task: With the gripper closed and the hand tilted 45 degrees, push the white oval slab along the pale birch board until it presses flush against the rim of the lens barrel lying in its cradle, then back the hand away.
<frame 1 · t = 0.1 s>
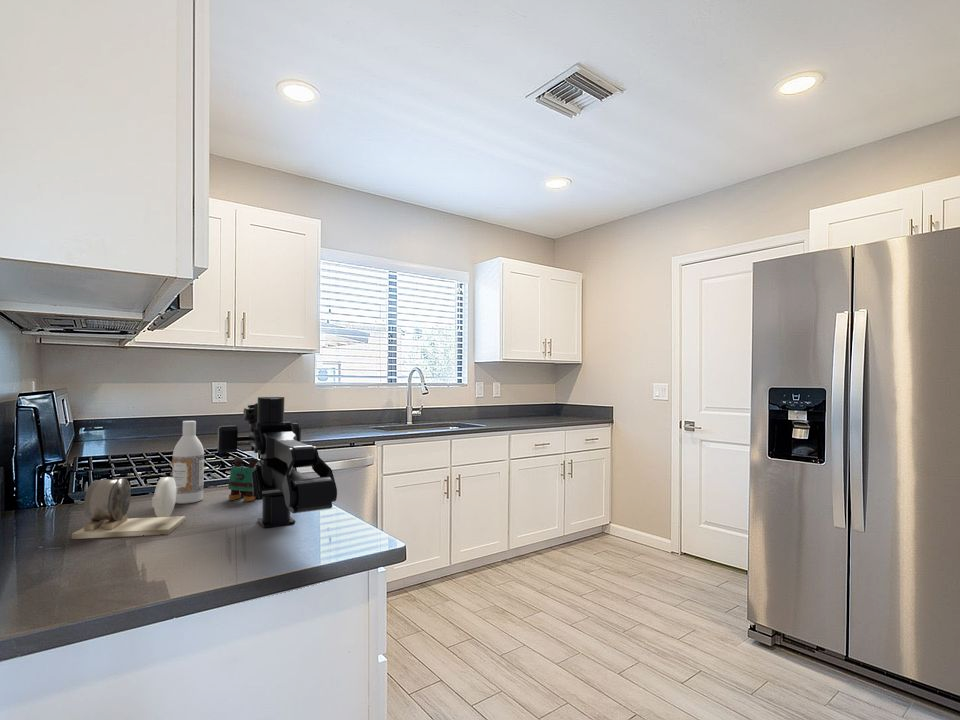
hand: (253, 434, 136), 17 cm above the worktop, tool horizontal, fingers open, 9 cm apart
bath foam: (187, 501, 134), on the worktop
lens barrel: (108, 499, 108), on the birch board, point 6 cm above the worktop
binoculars: (250, 498, 138), on the worktop
birch board: (131, 529, 109), on the worktop
white oval slab: (165, 496, 111), point 6 cm above the worktop, slide at 7.0 cm
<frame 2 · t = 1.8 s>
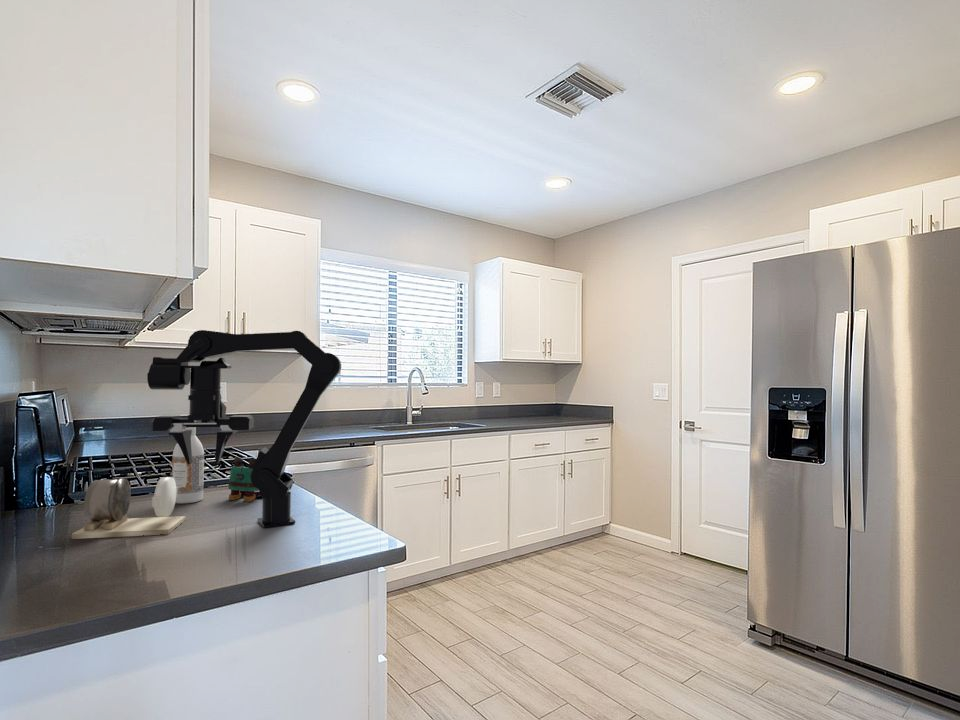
hand: (203, 463, 112), 13 cm above the worktop, tool pointing down, fingers open, 5 cm apart
nothing on the worktop moved.
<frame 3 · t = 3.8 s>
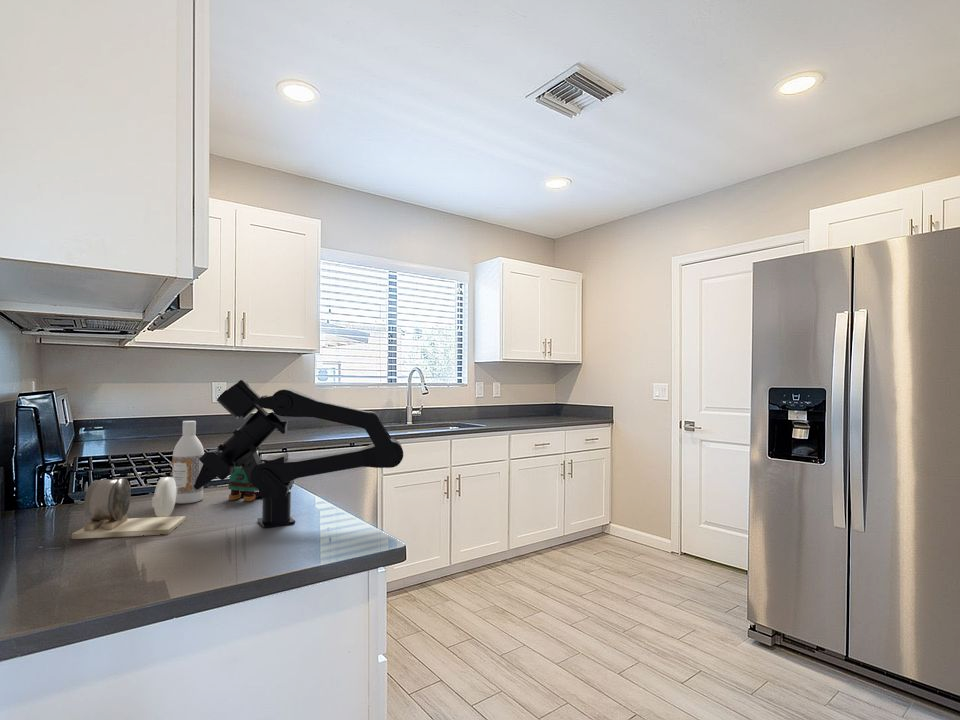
hand: (195, 487, 112), 8 cm above the worktop, tool tilted 45°, fingers closed
nothing on the worktop moved.
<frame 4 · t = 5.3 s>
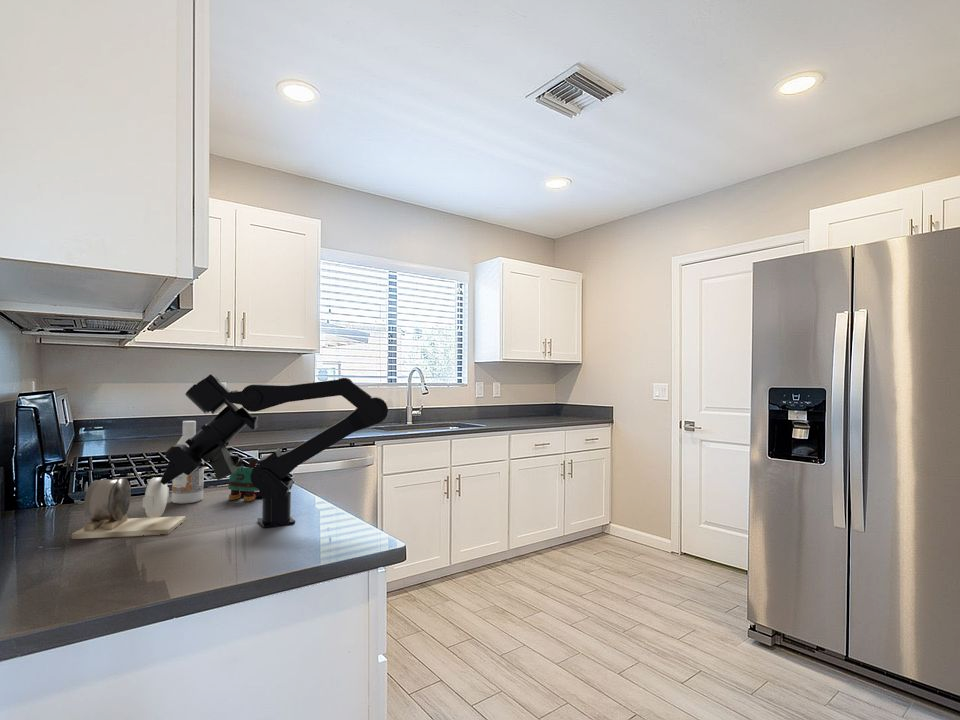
hand: (162, 482, 111), 9 cm above the worktop, tool tilted 45°, fingers closed, pressing on white oval slab
white oval slab: (156, 497, 110), point 6 cm above the worktop, slide at 5.3 cm, touching gripper
everything else where it was.
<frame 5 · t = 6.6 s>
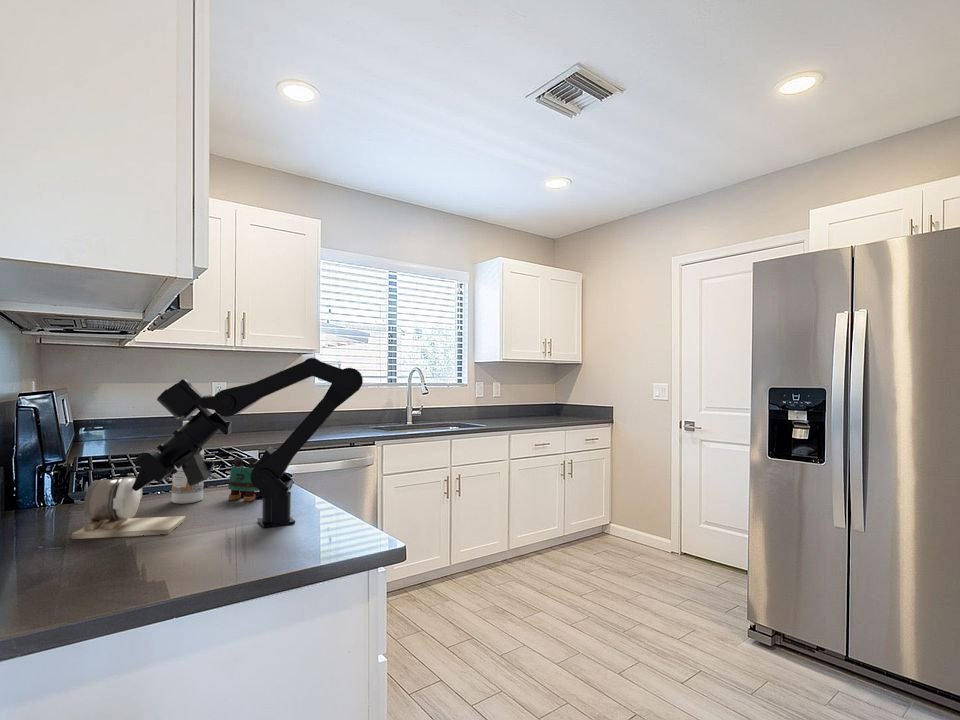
hand: (134, 489, 109), 8 cm above the worktop, tool tilted 45°, fingers closed, pressing on white oval slab
white oval slab: (128, 498, 109), point 6 cm above the worktop, slide at 0.1 cm, touching gripper
everything else where it was.
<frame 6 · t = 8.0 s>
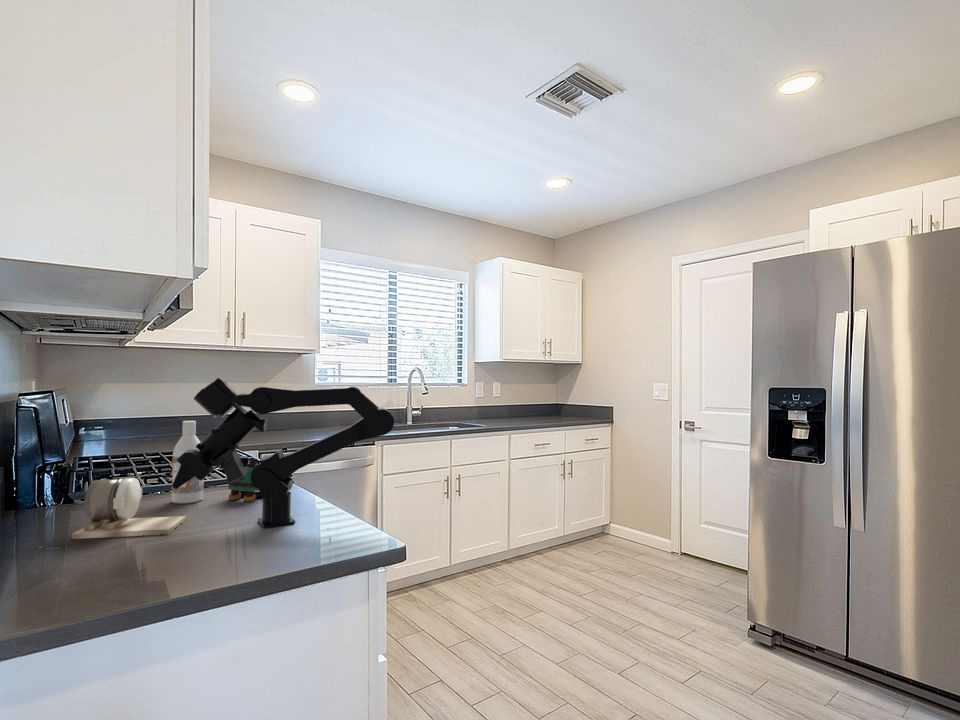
hand: (174, 487, 111), 8 cm above the worktop, tool tilted 45°, fingers closed
white oval slab: (128, 498, 109), point 6 cm above the worktop, slide at 0.1 cm
everything else where it was.
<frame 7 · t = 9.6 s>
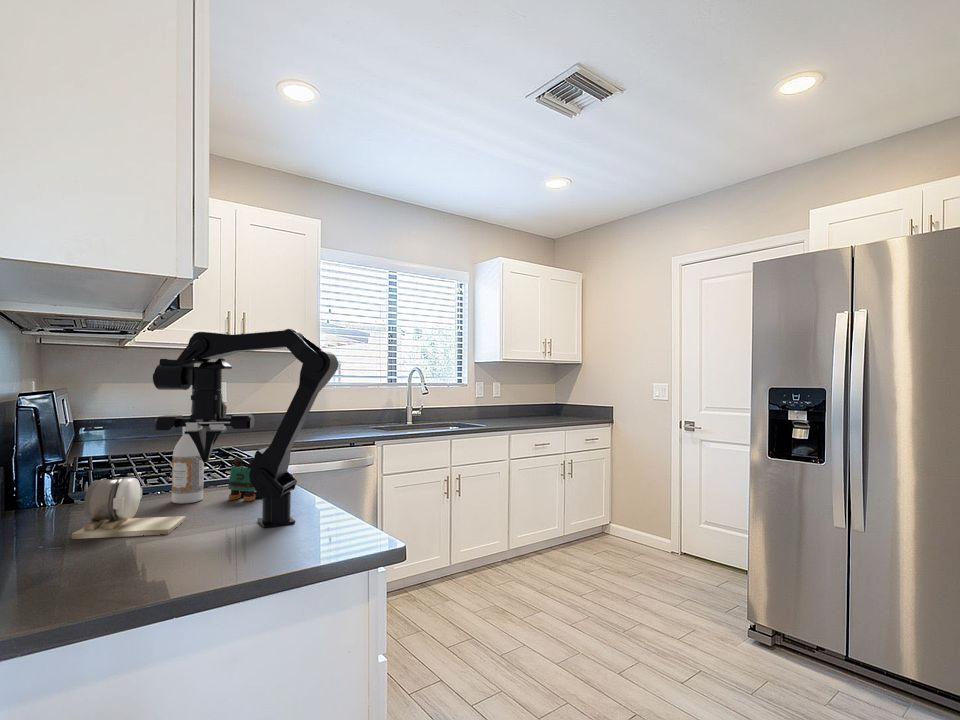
hand: (205, 462, 115), 13 cm above the worktop, tool pointing down, fingers closed
nothing on the worktop moved.
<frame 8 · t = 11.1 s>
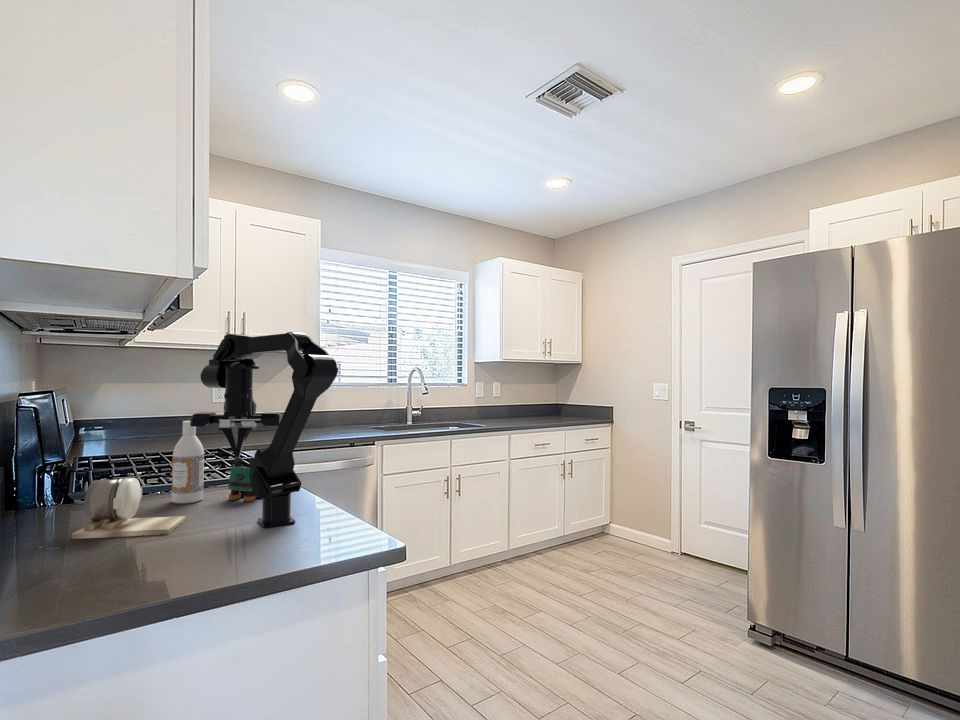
hand: (237, 457, 122), 13 cm above the worktop, tool pointing down, fingers closed
nothing on the worktop moved.
at the end: white oval slab slide at 0.1 cm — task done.
